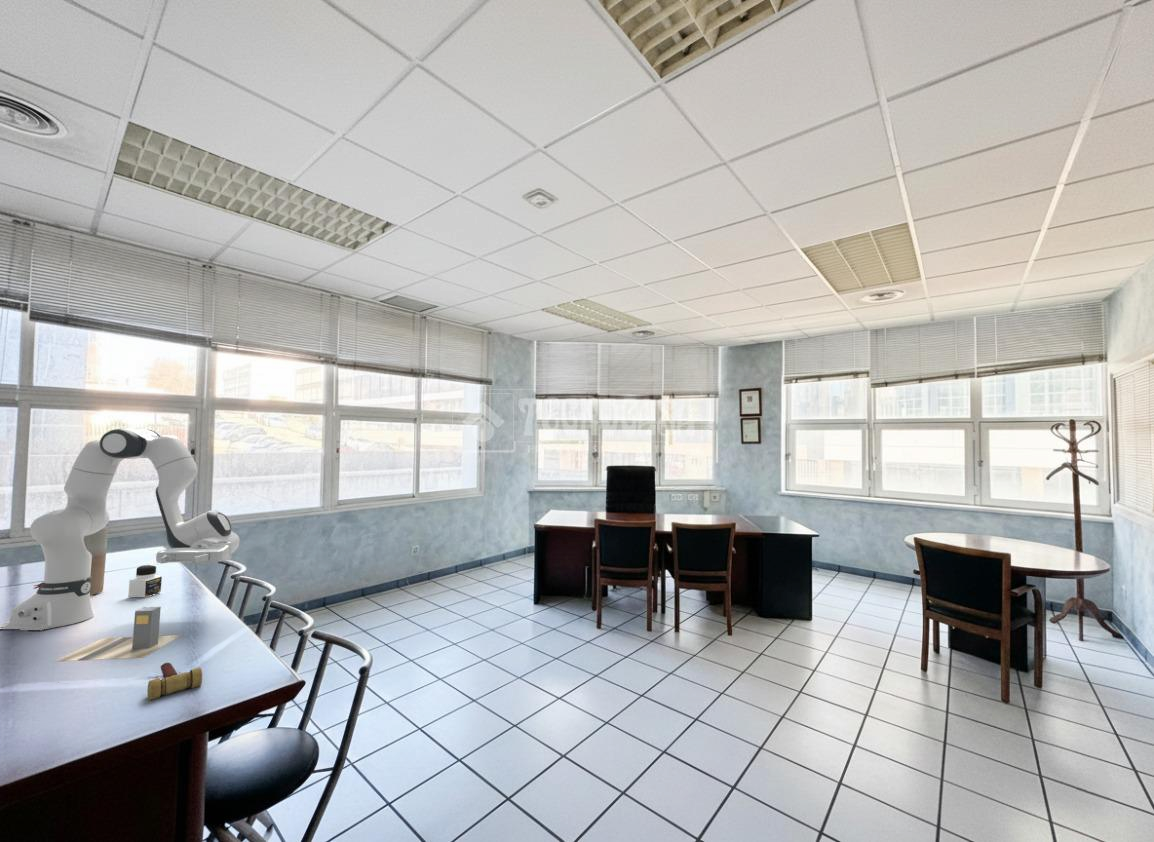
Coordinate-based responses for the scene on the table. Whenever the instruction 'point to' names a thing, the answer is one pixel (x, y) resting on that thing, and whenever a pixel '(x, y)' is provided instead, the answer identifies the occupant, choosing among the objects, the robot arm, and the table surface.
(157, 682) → the gavel
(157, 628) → the tall grey pillar
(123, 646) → the board
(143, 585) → the medicine bottle
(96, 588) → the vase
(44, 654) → the table surface
